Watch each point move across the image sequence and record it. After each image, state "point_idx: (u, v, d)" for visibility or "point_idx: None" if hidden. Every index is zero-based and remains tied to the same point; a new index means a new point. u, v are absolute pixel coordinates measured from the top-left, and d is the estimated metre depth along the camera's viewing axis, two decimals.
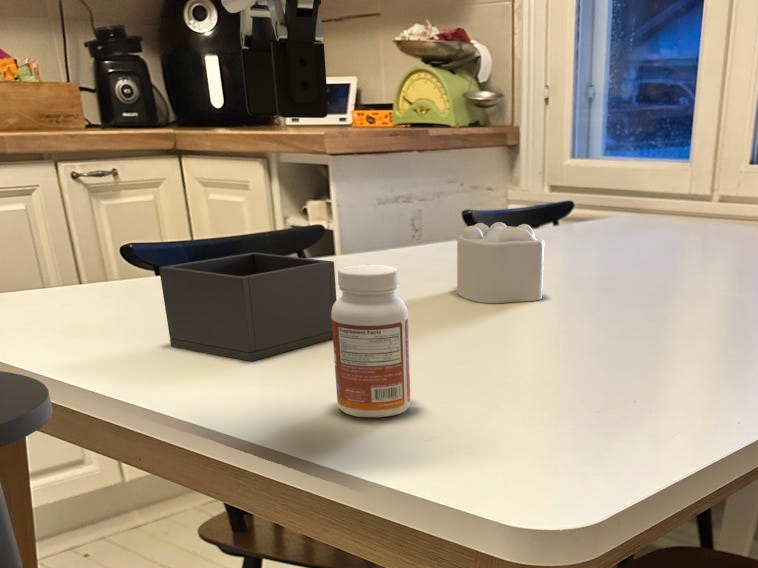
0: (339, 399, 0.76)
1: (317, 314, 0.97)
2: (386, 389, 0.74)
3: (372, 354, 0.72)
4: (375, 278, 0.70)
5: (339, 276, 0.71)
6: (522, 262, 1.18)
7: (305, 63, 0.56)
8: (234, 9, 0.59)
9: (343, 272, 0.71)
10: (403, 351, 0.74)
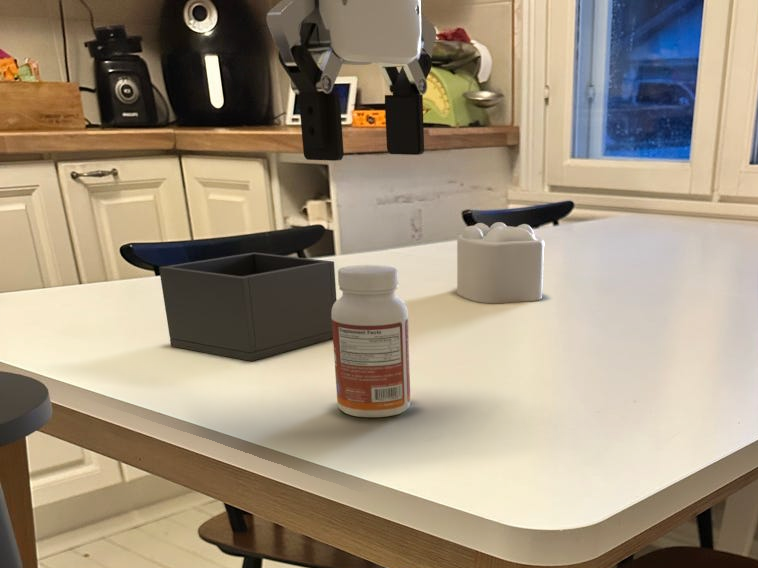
0: (339, 399, 0.76)
1: (317, 314, 0.97)
2: (386, 389, 0.74)
3: (372, 354, 0.72)
4: (375, 278, 0.70)
5: (339, 276, 0.71)
6: (522, 262, 1.18)
7: (316, 112, 0.62)
8: None
9: (343, 272, 0.71)
10: (403, 351, 0.74)
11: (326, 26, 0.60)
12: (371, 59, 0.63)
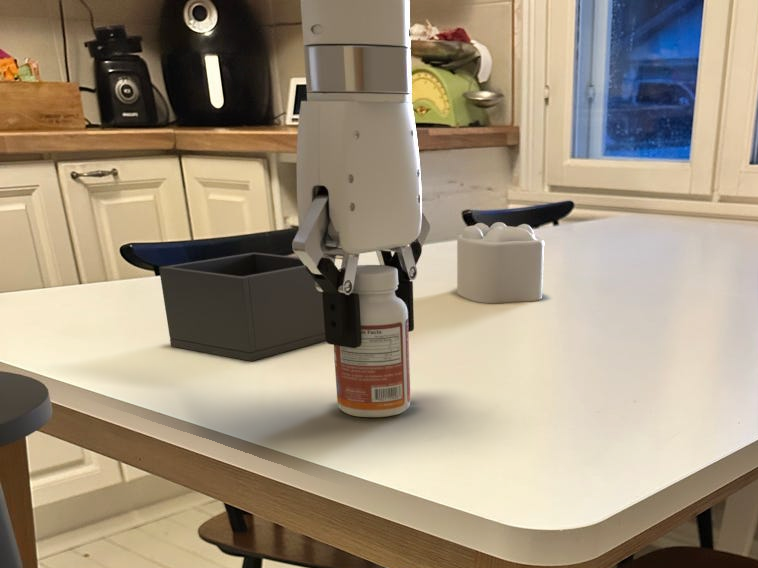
0: (339, 399, 0.76)
1: (317, 314, 0.97)
2: (387, 389, 0.74)
3: (372, 354, 0.72)
4: (375, 278, 0.70)
5: None
6: (522, 262, 1.18)
7: (337, 308, 0.70)
8: None
9: None
10: (403, 351, 0.74)
11: (335, 228, 0.66)
12: (376, 249, 0.70)
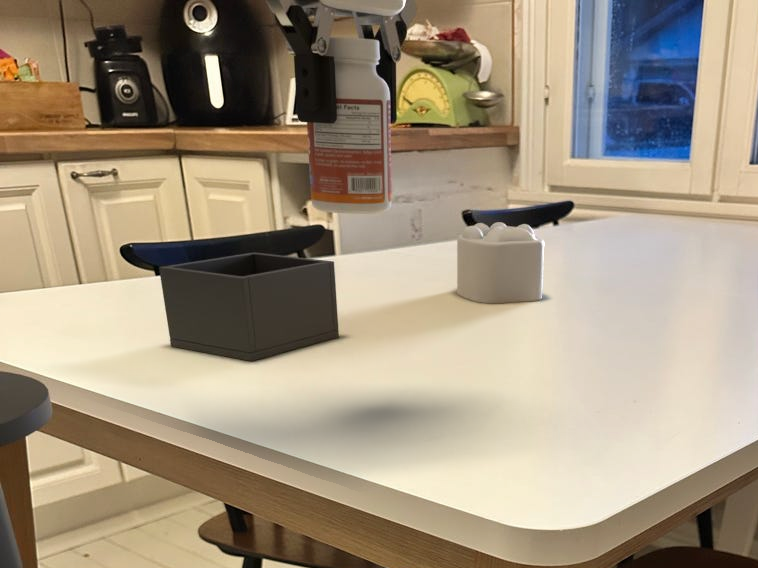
0: (313, 193, 0.69)
1: (317, 314, 0.97)
2: (365, 179, 0.67)
3: (349, 134, 0.65)
4: (354, 43, 0.63)
5: None
6: (522, 262, 1.18)
7: (310, 74, 0.63)
8: None
9: None
10: (384, 137, 0.67)
11: None
12: (354, 7, 0.63)
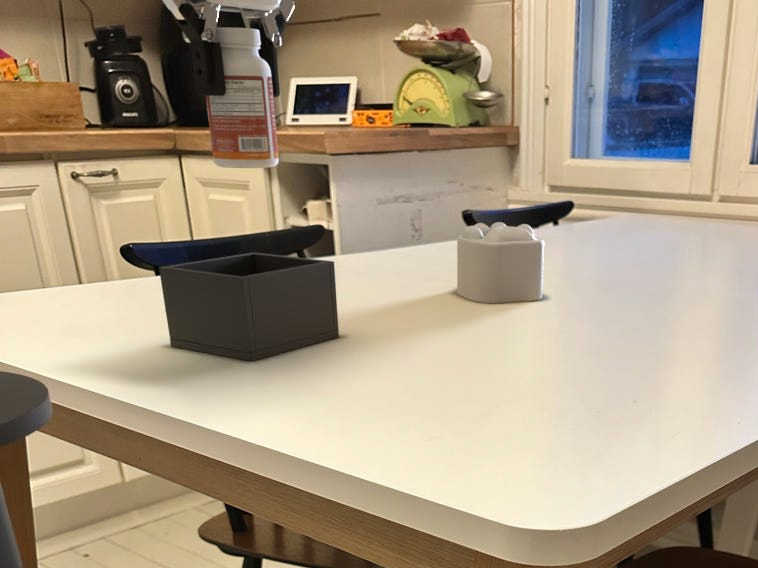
0: (213, 153, 0.86)
1: (317, 314, 0.97)
2: (252, 139, 0.85)
3: (237, 104, 0.83)
4: (236, 31, 0.81)
5: None
6: (522, 262, 1.18)
7: (202, 57, 0.81)
8: (219, 9, 0.84)
9: None
10: (267, 106, 0.85)
11: None
12: (235, 4, 0.80)
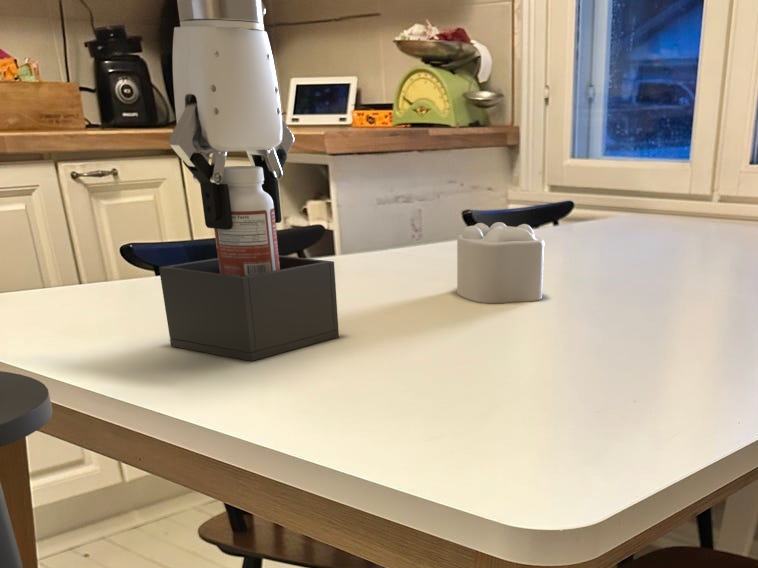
0: None
1: (317, 314, 0.97)
2: (256, 265, 0.93)
3: (243, 235, 0.91)
4: (242, 172, 0.89)
5: None
6: (522, 262, 1.18)
7: (211, 196, 0.88)
8: None
9: None
10: (270, 235, 0.92)
11: (204, 129, 0.85)
12: (241, 149, 0.88)
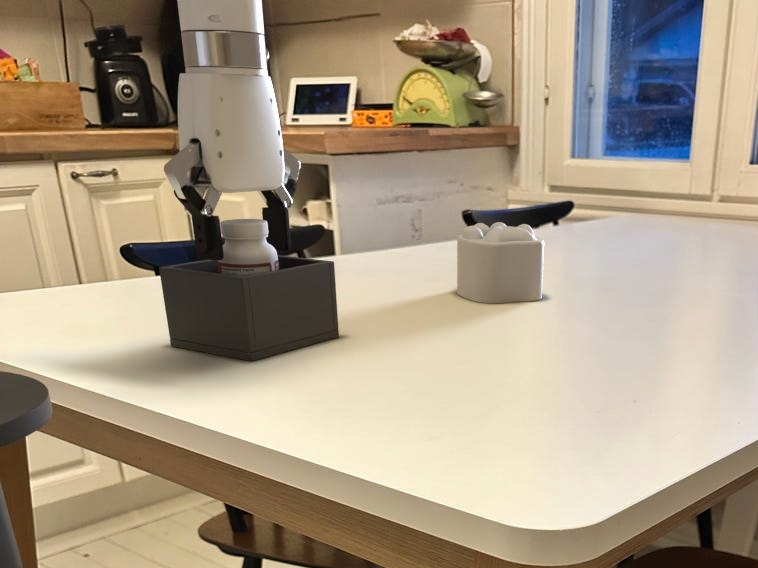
0: None
1: (317, 314, 0.97)
2: None
3: None
4: (247, 227, 0.91)
5: (221, 226, 0.92)
6: (522, 262, 1.18)
7: (202, 228, 0.89)
8: None
9: (223, 223, 0.92)
10: None
11: (207, 171, 0.86)
12: (243, 190, 0.90)
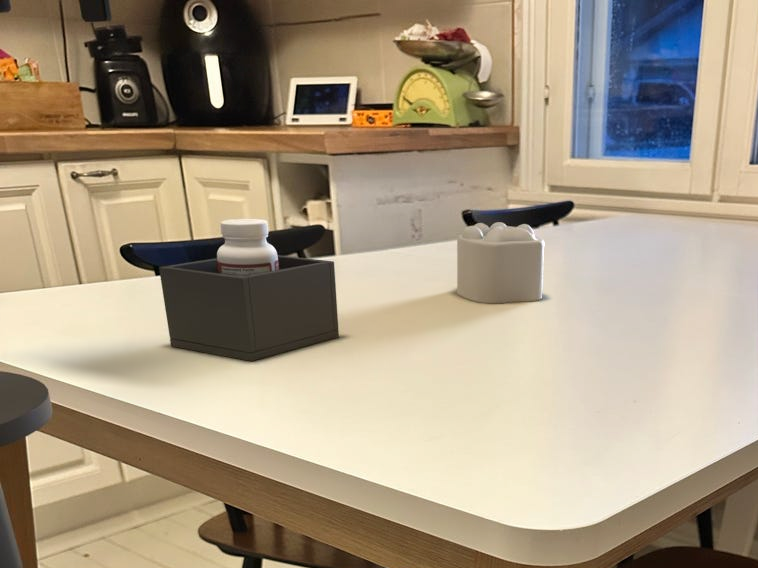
0: None
1: (317, 314, 0.97)
2: None
3: None
4: (247, 227, 0.91)
5: (221, 226, 0.92)
6: (522, 262, 1.18)
7: None
8: None
9: (223, 223, 0.92)
10: None
11: None
12: None
